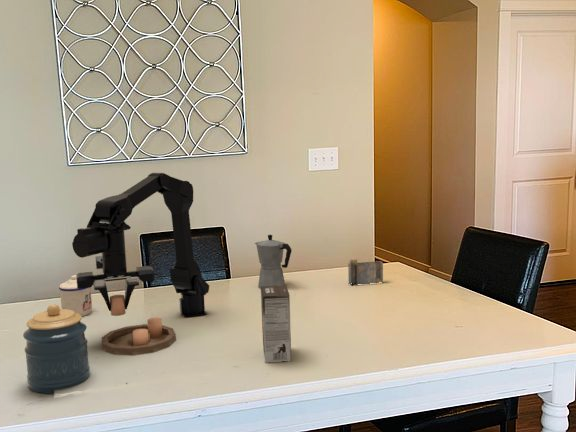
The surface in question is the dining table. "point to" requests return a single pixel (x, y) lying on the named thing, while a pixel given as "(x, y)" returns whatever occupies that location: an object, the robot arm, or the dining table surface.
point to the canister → (56, 350)
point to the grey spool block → (365, 272)
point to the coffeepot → (272, 262)
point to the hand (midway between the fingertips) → (118, 309)
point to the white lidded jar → (75, 297)
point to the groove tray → (123, 343)
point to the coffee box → (276, 323)
